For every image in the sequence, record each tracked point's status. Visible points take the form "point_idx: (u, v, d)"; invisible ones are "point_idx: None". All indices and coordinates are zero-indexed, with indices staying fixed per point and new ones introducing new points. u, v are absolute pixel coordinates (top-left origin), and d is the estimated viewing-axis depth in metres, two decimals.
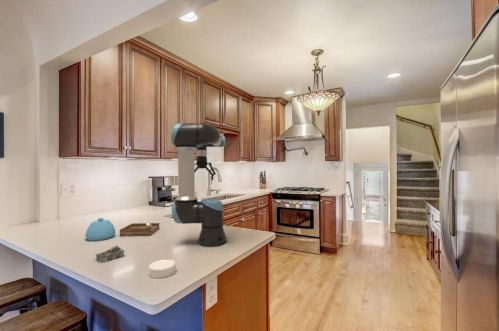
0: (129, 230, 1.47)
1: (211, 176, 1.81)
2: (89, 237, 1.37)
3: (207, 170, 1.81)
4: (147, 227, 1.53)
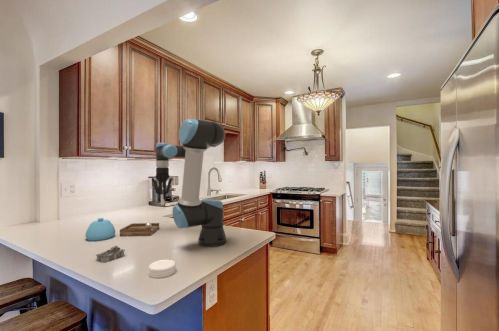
0: (129, 230, 1.47)
1: (163, 195, 1.54)
2: (89, 237, 1.37)
3: (163, 186, 1.54)
4: (147, 227, 1.53)
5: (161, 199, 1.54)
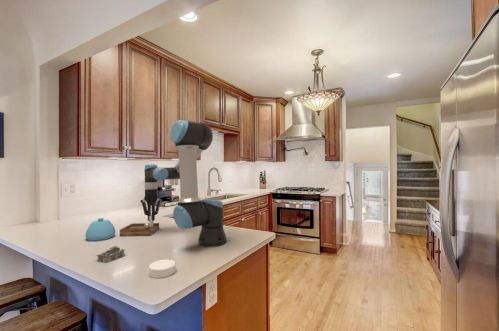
0: (129, 230, 1.47)
1: (151, 216, 1.54)
2: (89, 237, 1.37)
3: None
4: (146, 227, 1.53)
5: (150, 221, 1.54)
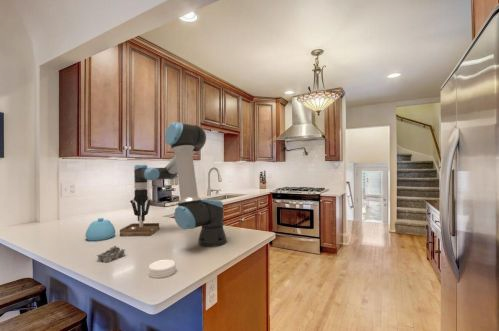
0: (129, 230, 1.47)
1: (141, 217, 1.54)
2: (89, 237, 1.37)
3: (141, 207, 1.54)
4: None
5: (139, 221, 1.54)
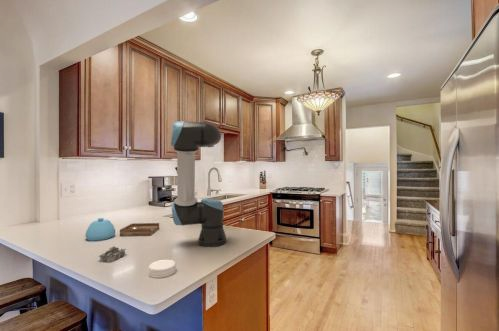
0: (129, 230, 1.47)
1: None
2: (89, 237, 1.37)
3: None
4: None
5: None
